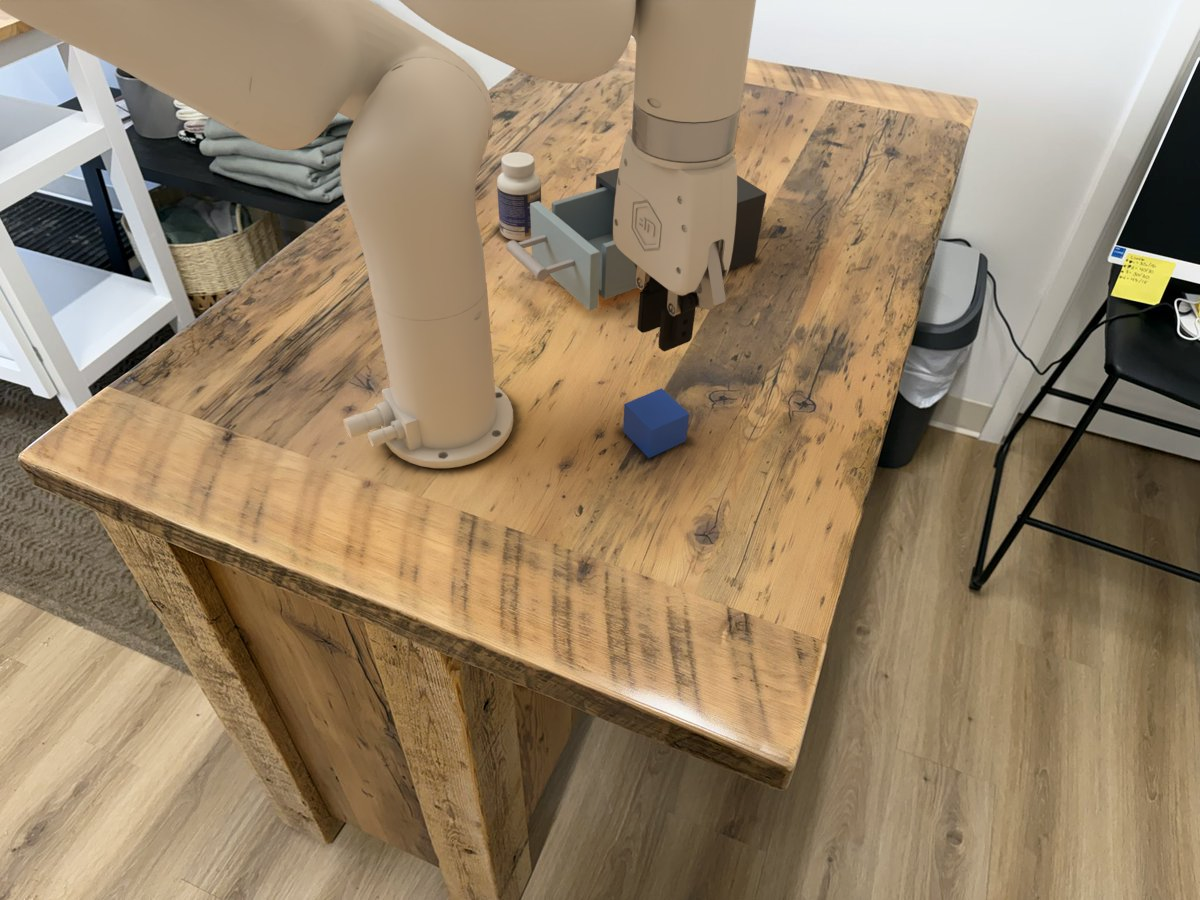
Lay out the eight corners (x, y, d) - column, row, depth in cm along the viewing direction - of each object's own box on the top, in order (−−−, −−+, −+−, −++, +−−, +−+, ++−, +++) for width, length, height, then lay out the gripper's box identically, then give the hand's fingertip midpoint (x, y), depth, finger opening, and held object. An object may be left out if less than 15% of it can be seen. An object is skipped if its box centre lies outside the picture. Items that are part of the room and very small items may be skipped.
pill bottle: (536, 244, 106) (533, 171, 99) (494, 239, 106) (489, 166, 99) (546, 223, 109) (545, 151, 103) (506, 218, 110) (502, 146, 103)
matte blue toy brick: (648, 458, 79) (651, 430, 76) (622, 431, 82) (624, 403, 79) (686, 441, 81) (689, 413, 78) (658, 415, 83) (661, 387, 81)
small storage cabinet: (660, 296, 98) (666, 226, 92) (594, 241, 106) (595, 174, 100) (754, 261, 104) (766, 193, 98) (685, 212, 112) (692, 146, 106)
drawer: (552, 325, 92) (551, 267, 87) (495, 270, 100) (491, 214, 94) (685, 277, 100) (691, 221, 94) (623, 229, 107) (626, 175, 102)
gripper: (579, 98, 63) (577, 303, 76) (714, 186, 54) (686, 402, 66) (659, 79, 66) (645, 279, 79) (801, 159, 57) (758, 371, 70)
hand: (664, 334), depth 73 cm, fingers closed
